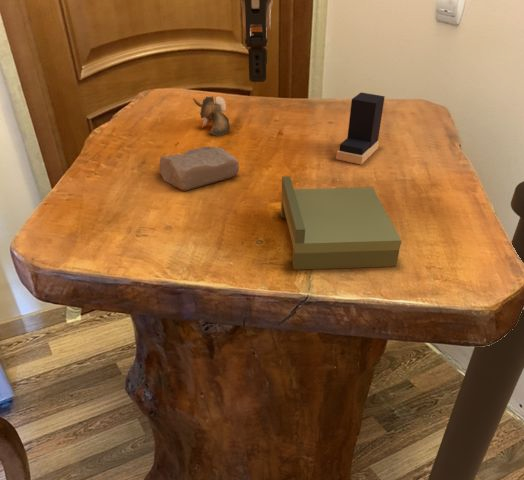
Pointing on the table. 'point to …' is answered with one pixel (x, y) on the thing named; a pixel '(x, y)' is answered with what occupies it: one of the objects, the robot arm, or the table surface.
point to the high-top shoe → (362, 128)
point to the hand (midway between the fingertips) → (258, 72)
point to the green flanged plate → (338, 228)
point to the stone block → (198, 167)
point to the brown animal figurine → (214, 114)
